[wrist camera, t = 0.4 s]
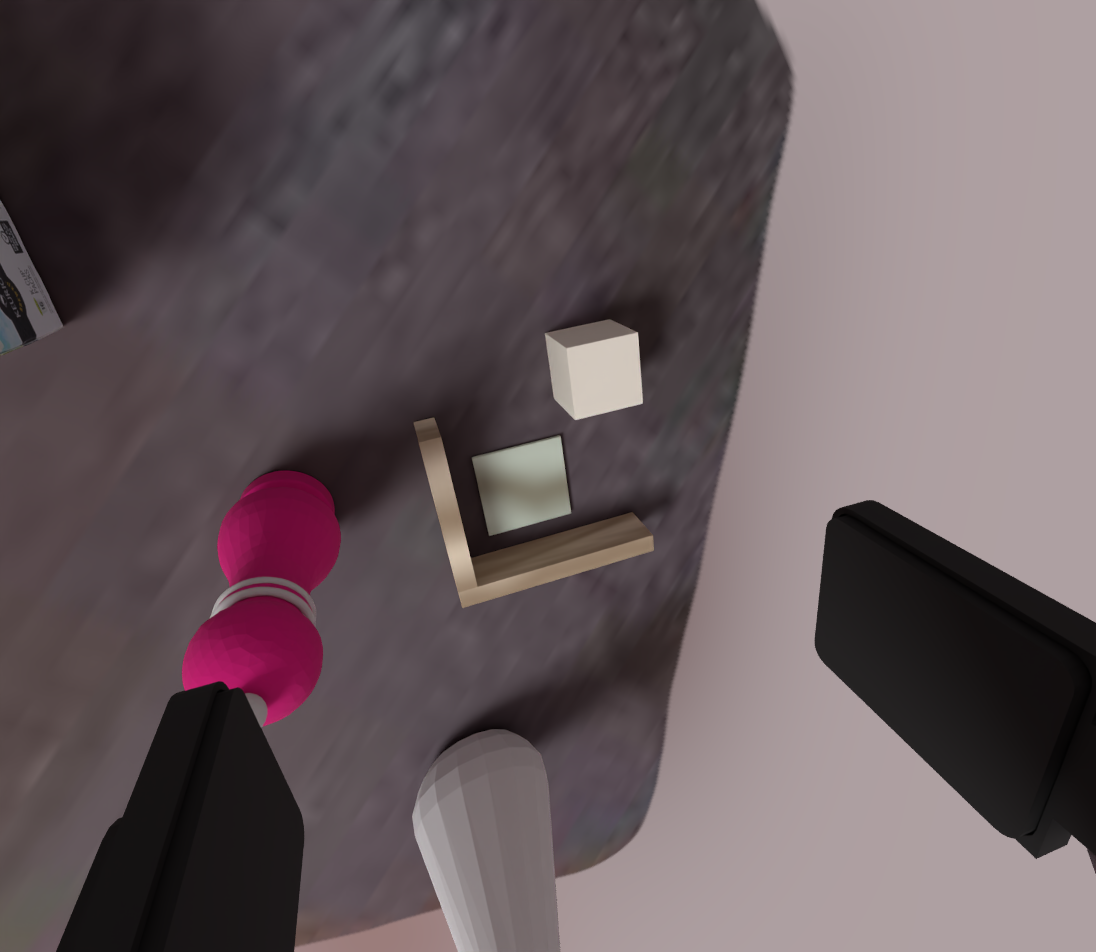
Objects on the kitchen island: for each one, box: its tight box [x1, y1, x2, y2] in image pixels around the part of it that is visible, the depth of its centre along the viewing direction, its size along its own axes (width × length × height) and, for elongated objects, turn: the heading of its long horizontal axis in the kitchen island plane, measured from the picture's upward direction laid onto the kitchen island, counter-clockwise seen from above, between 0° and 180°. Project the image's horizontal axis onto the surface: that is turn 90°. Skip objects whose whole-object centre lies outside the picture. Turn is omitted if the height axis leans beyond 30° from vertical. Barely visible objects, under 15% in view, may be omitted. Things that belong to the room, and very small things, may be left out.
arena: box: [413, 417, 654, 608], centre depth 45 cm, size 14×16×4 cm
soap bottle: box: [412, 729, 560, 952], centre depth 44 cm, size 13×10×29 cm
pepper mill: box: [182, 470, 341, 727], centre depth 33 cm, size 7×7×20 cm
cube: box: [545, 319, 643, 420], centre depth 41 cm, size 5×5×5 cm
